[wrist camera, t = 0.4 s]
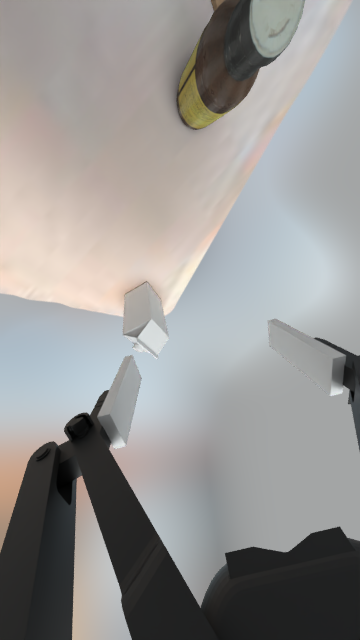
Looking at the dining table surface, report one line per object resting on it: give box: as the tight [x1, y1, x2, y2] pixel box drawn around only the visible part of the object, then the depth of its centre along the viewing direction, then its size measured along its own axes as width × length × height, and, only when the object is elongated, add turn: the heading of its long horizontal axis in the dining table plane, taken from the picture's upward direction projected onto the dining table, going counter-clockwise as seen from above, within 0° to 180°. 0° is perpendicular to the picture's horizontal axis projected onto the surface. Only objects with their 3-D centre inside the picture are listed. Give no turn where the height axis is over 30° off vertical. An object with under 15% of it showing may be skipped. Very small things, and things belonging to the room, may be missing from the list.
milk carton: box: [123, 282, 169, 359], centre depth 40 cm, size 7×7×19 cm
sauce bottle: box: [177, 0, 305, 130], centre depth 19 cm, size 6×6×20 cm
